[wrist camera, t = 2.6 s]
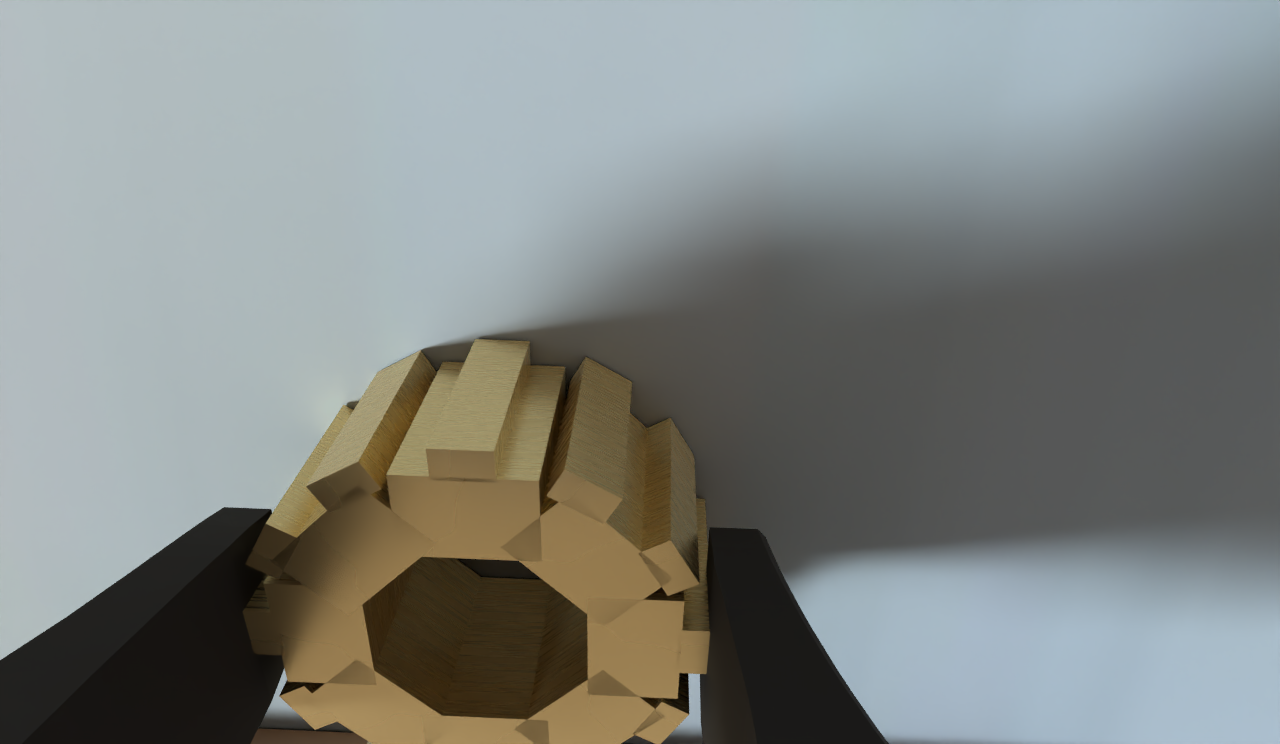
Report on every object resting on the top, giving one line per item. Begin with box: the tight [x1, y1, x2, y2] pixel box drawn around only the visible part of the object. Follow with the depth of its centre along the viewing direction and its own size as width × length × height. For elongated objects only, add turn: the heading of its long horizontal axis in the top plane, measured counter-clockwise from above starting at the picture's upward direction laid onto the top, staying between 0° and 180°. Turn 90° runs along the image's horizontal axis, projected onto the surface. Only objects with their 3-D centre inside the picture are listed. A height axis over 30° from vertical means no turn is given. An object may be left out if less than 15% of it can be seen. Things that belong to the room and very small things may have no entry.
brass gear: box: [243, 339, 710, 744], centre depth 11 cm, size 6×6×2 cm
